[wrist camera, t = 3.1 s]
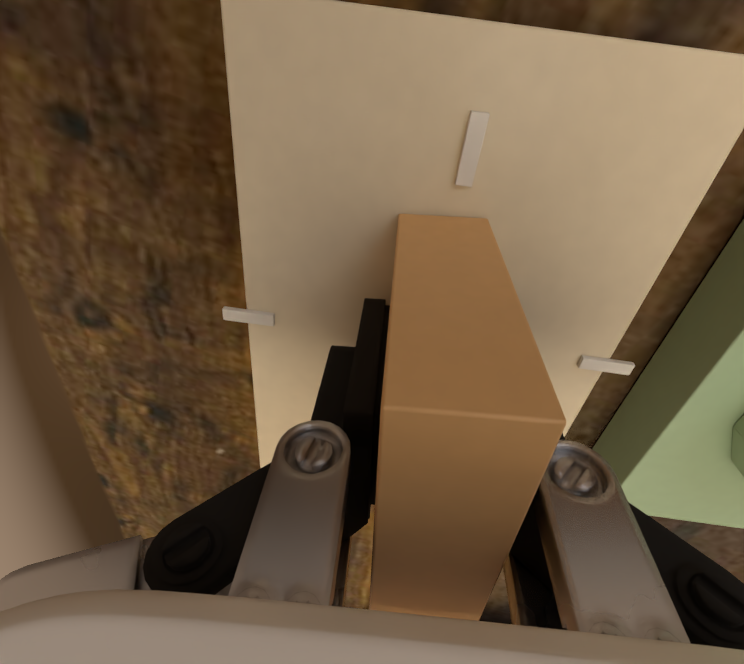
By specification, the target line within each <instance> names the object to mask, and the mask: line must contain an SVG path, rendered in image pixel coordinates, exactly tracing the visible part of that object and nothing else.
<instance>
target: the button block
mask: <svg viewBox="0 0 744 664" xmlns="http://www.w3.org/2000/svg"><path fill="white" fill-rule="evenodd" d="M592 449H593V450H594V451H596V452H597V453H599V454H600V455H601V456H602V457H603V458H604V459H605V460H606V461H607V462H608V463H609V464H610V466H611V467H612V469H613V470H614V472H615V474H616V476H617V478H618V480H619V482H620V485H621V487H622V489H623V491H624V494H625V496H626V498H627V500H628V502H629V503H630V504H632V505H633V506H635V507H636V508H638V509H639V510H641V511H642V512H643V513H645V514H646V515H650V516H657V517H664V518H672V519H679V520H686V521H693V522H700V523H708V524H715V525H722V526H729V527H736V528H744V219H743V221H742V222H741V224H740V225H739V227H738V228H737V230H736V231H735V233H734V234H733V236H732V237H731V239H730V240H729V242H728V243H727V245H726V246H725V248H724V249H723V251H722V252H721V254H720V255H719V257H718V259H717V260H716V262H715V263H714V265H713V266H712V268H711V269H710V271H709V272H708V274H707V275H706V277H705V278H704V280H703V281H702V283H701V284H700V286H699V287H698V289H697V290H696V292H695V293H694V295H693V296H692V298H691V300H690V301H689V303H688V304H687V306H686V307H685V309H684V310H683V312H682V313H681V315H680V316H679V318H678V319H677V321H676V322H675V324H674V325H673V327H672V328H671V330H670V331H669V333H668V334H667V336H666V338H665V339H664V341H663V342H662V344H661V345H660V347H659V348H658V350H657V351H656V353H655V354H654V356H653V357H652V359H651V360H650V362H649V363H648V365H647V366H646V368H645V369H644V371H643V372H642V374H641V375H640V377H639V379H638V380H637V382H636V383H635V385H634V386H633V388H632V389H631V391H630V392H629V394H628V395H627V397H626V398H625V400H624V401H623V403H622V404H621V406H620V407H619V409H618V410H617V412H616V413H615V415H614V417H613V418H612V420H611V421H610V423H609V424H608V426H607V427H606V429H605V430H604V432H603V433H602V435H601V436H600V438H599V439H598V441H597V442H596V444H595V445H594V447H593V448H592Z"/></svg>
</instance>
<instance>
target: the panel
mask: <svg viewBox="0 0 744 664" xmlns="http://www.w3.org/2000/svg"><path fill="white" fill-rule="evenodd" d="M220 1H221V12H222V24H223V36H224V48H225V59H226V71H227V83H228V95H229V106H230V118H231V130H232V141H233V153H234V165H235V177H236V188H237V200H238V212H239V224H240V235H241V247H242V259H243V271H244V282H245V294H246V306H247V309H241V308H234V307H226V306H224V307H223V309H222V312H223V319H224V320H229V321H236V322H244V323H248V329H249V341H250V353H251V364H252V376H253V388H254V400H255V411H256V423H257V435H258V447H259V458H260V468H262V467H264V466H266V465H267V464H269V463H271V461H272V458H273V455H274V452H275V449H276V446H277V444H278V442H279V440H280V438H281V437H282V436H283V435H284V434H285V433H286V432H287V431H288V430H289V429H290V428H292V427H294V426H296V425H297V424H300V423H303V422H307V421H311V417H312V414H313V410H314V406H315V403H316V399H317V395H318V391H319V388H320V384H321V380H322V377H323V373H324V369H325V365H326V362H327V358H328V354H329V351H330V348H331V346H332V345H334V346H349V347H355V346H356V341H357V336H358V331H359V325H360V320H361V315H362V310H363V304H364V299H365V298H372V299H386V305H390V301H391V290H392V279H393V268H394V257H395V247H396V236H397V225H398V216H399V214H416V215H434V216H451V217H469V218H486V219H488V221H489V223H490V226H491V228H492V231H493V234H494V236H495V239H496V241H497V244H498V246H499V249H500V251H501V254H502V257H503V259H504V262H505V264H506V267H507V269H508V272H509V275H510V277H511V280H512V282H513V285H514V287H515V290H516V293H517V295H518V298H519V300H520V303H521V305H522V308H523V311H524V313H525V316H526V318H527V321H528V323H529V326H530V328H531V331H532V334H533V336H534V339H535V341H536V344H537V346H538V349H539V352H540V354H541V357H542V359H543V362H544V364H545V367H546V370H547V372H548V375H549V377H550V380H551V382H552V385H553V388H554V390H555V393H556V395H557V398H558V400H559V403H560V405H561V408H562V411H563V413H564V416H565V418H566V426H565V428H564V430H563V432H562V433H563V436H564V437H565V435H566V433H567V432H568V430H569V428H570V426H571V425H572V423H573V421H574V420H575V418H576V416H577V414H578V413H579V411H580V409H581V407H582V406H583V404H584V402H585V401H586V399H587V397H588V395H589V394H590V392H591V390H592V389H593V387H594V385H595V383H596V382H597V380H598V378H599V376H600V375H601V373H602V372H609V373H616V374H623V375H630V373H631V372H632V370H633V368H634V367H635V365H634V363H633V362H628V361H621V360H614V359H610V358H611V356H612V354H613V352H614V351H615V349H616V347H617V345H618V344H619V342H620V340H621V339H622V337H623V335H624V333H625V332H626V330H627V328H628V327H629V325H630V323H631V321H632V320H633V318H634V316H635V314H636V313H637V311H638V309H639V308H640V306H641V304H642V302H643V301H644V299H645V297H646V296H647V294H648V292H649V290H650V289H651V287H652V285H653V283H654V282H655V280H656V278H657V277H658V275H659V273H660V271H661V270H662V268H663V266H664V265H665V263H666V261H667V259H668V258H669V256H670V254H671V252H672V251H673V249H674V247H675V246H676V244H677V242H678V240H679V239H680V237H681V235H682V234H683V232H684V230H685V228H686V227H687V225H688V223H689V222H690V220H691V218H692V216H693V215H694V213H695V211H696V209H697V208H698V206H699V204H700V203H701V201H702V199H703V197H704V196H705V194H706V192H707V191H708V189H709V187H710V185H711V184H712V182H713V180H714V178H715V177H716V175H717V173H718V172H719V170H720V168H721V166H722V165H723V163H724V161H725V160H726V158H727V156H728V154H729V153H730V151H731V149H732V147H733V146H734V144H735V142H736V141H737V139H738V137H739V135H740V134H741V132H742V130H743V129H744V54H737V53H729V52H722V51H714V50H707V49H699V48H692V47H684V46H676V45H669V44H661V43H654V42H646V41H639V40H631V39H624V38H616V37H608V36H601V35H593V34H586V33H578V32H571V31H563V30H556V29H548V28H541V27H533V26H525V25H518V24H510V23H503V22H495V21H488V20H480V19H473V18H465V17H458V16H450V15H442V14H435V13H427V12H420V11H412V10H405V9H397V8H390V7H382V6H374V5H367V4H359V3H352V2H344V1H337V0H220Z"/></svg>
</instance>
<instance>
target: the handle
mask: <svg viewBox="0 0 744 664" xmlns="http://www.w3.org/2000/svg"><path fill="white" fill-rule="evenodd" d="M565 426H566V418H565V416H564V413H563V411H562V408H561V405H560V403H559V400H558V398H557V395H556V393H555V390H554V388H553V385H552V382H551V380H550V377H549V375H548V372H547V370H546V367H545V364H544V362H543V359H542V357H541V354H540V352H539V349H538V346H537V344H536V341H535V339H534V336H533V334H532V331H531V328H530V326H529V323H528V321H527V318H526V316H525V313H524V311H523V308H522V305H521V303H520V300H519V298H518V295H517V293H516V290H515V287H514V285H513V282H512V280H511V277H510V275H509V272H508V269H507V267H506V264H505V262H504V259H503V257H502V254H501V251H500V249H499V246H498V244H497V241H496V239H495V236H494V234H493V231H492V228H491V226H490V223H489V221H488V219H486V218H469V217H451V216H434V215H416V214H399V216H398V225H397V236H396V247H395V257H394V268H393V279H392V290H391V301H390V312H389V322H388V333H387V344H386V355H385V366H384V376H383V387H382V398H381V410H380V428H379V445H378V463H377V481H376V498H375V516H374V533H373V551H372V569H371V586H370V604H369V610H378V611H388V612H398V613H407V614H417V615H427V616H436V617H446V618H456V619H465V620H475V621H479V619H480V617H481V615H482V613H483V610H484V608H485V606H486V604H487V601H488V599H489V597H490V595H491V592H492V590H493V588H494V586H495V583H496V581H497V579H498V577H499V574H500V572H501V570H502V568H503V565H504V563H505V561H506V559H507V556H508V554H509V552H510V550H511V547H512V545H513V543H514V541H515V538H516V536H517V534H518V532H519V529H520V527H521V525H522V523H523V520H524V518H525V516H526V514H527V511H528V509H529V507H530V505H531V502H532V500H533V498H534V496H535V493H536V491H537V489H538V486H539V484H540V482H541V480H542V477H543V475H544V473H545V471H546V468H547V466H548V464H549V462H550V459H551V457H552V455H553V453H554V450H555V448H556V446H557V444H558V441H559V439H560V437H561V435H562V432H563V430H564V428H565Z"/></svg>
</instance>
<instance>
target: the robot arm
mask: <svg viewBox="0 0 744 664" xmlns="http://www.w3.org/2000/svg"><path fill="white" fill-rule="evenodd" d="M389 312H390V305H386V299H372V298H365V299H364V304H363V310H362V315H361V320H360V325H359V331H358V336H357V341H356V346H355V347H349V346H334V345H332V346H331V348H330V351H329V354H328V358H327V362H326V365H325V369H324V373H323V377H322V380H321V384H320V388H319V391H318V395H317V399H316V403H315V406H314V410H313V414H312V417H311V421H307V422H303V423H300V424H297V425H296V426H294V427H292V428H290V429H289V430H288V431H287V432H286V433H285V434H284V435H283V436H282V437H281V438H280V440H279V442H278V444H277V446H276V449H275V452H274V455H273V458H272V461H271V463H269V464H267V465H266V466H264V467H262V468H261V469H259V470H257V471H256V472H254V473H252V474H251V475H249V476H247V477H246V478H244V479H242V480H241V481H239V482H237V483H235V484H234V485H232V486H230V487H229V488H227V489H225V490H224V491H222V492H220V493H219V494H217V495H215V496H214V497H212V498H210V499H209V500H207V501H205V502H204V503H202V504H200V505H199V506H197V507H195V508H194V509H192V510H190V511H188V512H187V513H185V514H183V515H182V516H180V517H178V518H177V519H175V520H174V521H172V522H171V523H170V524H168V525H167V526H166V527H164V528H163V529H162V530H161V531H160V532H159V533H158V535H157V536H155V537H151V538H148V539H144V540H143V538H142V536H141V535H138V536H135V537H131V538H127V539H124V540H120V541H116V542H113V543H109V544H105V545H101V546H98V547H94V548H90V549H87V550H83V551H79V552H76V553H72V554H69V555H65V556H61V557H57V558H53V559H50V560H46V561H43V562H39V563H35V564H31V565H28V566H25V567H23V568H20V569H18V570H15V571H13V572H11V573H9V574H8V575H6V576H5V577H4V578H2V579H1V580H0V664H744V584H743V583H742V582H741V581H740V580H738V579H737V578H736V577H735V576H733V575H732V574H731V573H730V572H728V571H727V570H726V569H724V568H723V567H721V566H720V565H718V564H717V563H715V562H714V561H713V560H711V559H710V558H708V557H707V556H705V555H704V554H703V553H701V552H700V551H698V550H697V549H695V548H694V547H692V546H691V545H690V544H688V543H687V542H685V541H684V540H682V539H681V538H679V537H678V536H677V535H675V534H674V533H672V532H671V531H669V530H668V529H667V528H665V527H664V526H662V525H661V524H659V523H658V522H656V521H655V520H654V519H652V518H651V517H649V516H648V515H646V514H645V513H643V512H642V511H641V510H639V509H638V508H636V507H635V506H633V505H632V504H630V503H629V502H628V500H627V498H626V496H625V494H624V491H623V489H622V487H621V485H620V482H619V480H618V478H617V476H616V474H615V472H614V470H613V469H612V467H611V466H610V464H609V463H608V462H607V461H606V460H605V459H604V458H603V457H602V456H601V455H600V454H599V453H597V452H596V451H594V450H593V449H591V448H589V447H587V446H585V445H583V444H580V443H578V442H574V441H569V440H565V438H564V436H563V433H562V435H561V437H560V439H559V441H558V444H557V446H556V448H555V450H554V453H553V455H552V457H551V459H550V462H549V464H548V466H547V468H546V471H545V473H544V475H543V477H542V480H541V482H540V484H539V486H538V489H537V491H536V493H535V496H534V498H533V500H532V502H531V505H530V507H529V509H528V511H527V514H526V516H525V518H524V520H523V523H522V525H521V527H520V529H519V532H518V534H517V536H516V538H515V541H514V543H513V545H512V547H511V550H510V552H509V554H508V556H507V559H506V561H505V563H504V565H503V569H504V575H505V582H506V588H507V595H508V601H509V607H510V614H511V620H512V624H504V623H494V622H485V621H475V620H465V619H456V618H446V617H436V616H427V615H417V614H407V613H398V612H388V611H378V610H368V609H358V608H348V607H344V603H345V594H346V585H347V577H348V568H349V559H350V551H351V542H352V535H353V534H354V533H356V532H357V531H358V530H359V529H361V528H362V527H363V526H364V525H366V524H367V523H368V519H369V518H370V507H371V504H373V505H375V498H376V481H377V463H378V445H379V428H380V410H381V398H382V387H383V376H384V366H385V355H386V344H387V333H388V322H389Z"/></svg>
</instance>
